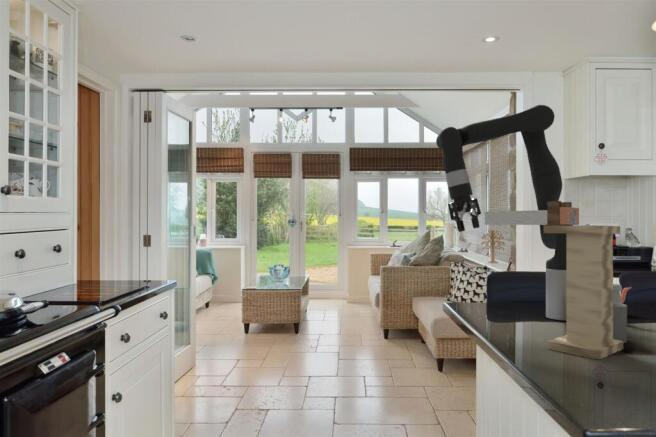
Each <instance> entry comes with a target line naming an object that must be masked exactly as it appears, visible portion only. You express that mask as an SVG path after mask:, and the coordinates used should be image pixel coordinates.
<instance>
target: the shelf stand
mask: <svg viewBox="0 0 656 437" xmlns="http://www.w3.org/2000/svg"><path fill="white" fill-rule="evenodd" d="M572 205H573V204H572V201H563V202H562V201H561V200H559V201H547V226H544V233H567V320H566V334H565V335H561V336H559V337H555V338H552V339H549V340H547V349H548V350H552V351H556V352H562V353H566V354H570V355H575V356H579V357H583V356H584V357H585V358H589V359H594V360H597V359H598V361H599V359H600V360H601V359H604V358H607V357H609V356H611V355H613V354H615V353H618V352H620V351H622V350H624V343H623V341H619V340H613V284H614V248H613V247H614V244H613V243H614V238H613V237H614V235H620V234H621V226H619V225H573V226H572V225H559V207H572V208H573V206H572ZM617 351H618V352H617ZM608 355H609V356H608Z"/></svg>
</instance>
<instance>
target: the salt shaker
mask: <svg viewBox="0 0 656 437" xmlns="http://www.w3.org/2000/svg"><path fill="white" fill-rule="evenodd" d="M622 291H623V287H622V285H621V284H619V283H613V302H615V303H621V304H623V303H622V300H621V292H622Z"/></svg>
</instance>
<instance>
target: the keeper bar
mask: <svg viewBox="0 0 656 437" xmlns="http://www.w3.org/2000/svg"><path fill="white" fill-rule="evenodd" d="M484 225H490V226H494V225H495V226H540V225H547V210H538V209H537V210H501V211H496V210H495V211H484ZM559 225H573V226H580V208H579V207H573V206H572V207H559Z"/></svg>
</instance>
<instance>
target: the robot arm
mask: <svg viewBox="0 0 656 437" xmlns="http://www.w3.org/2000/svg"><path fill="white" fill-rule="evenodd" d="M555 116H556V115H555V113H554V111H553V109H552V108H551V107H550V106H548V105H544V104H537V105H534V106H531V107H529V108H527V109H525V110H523V111H519V112H517V113H513V114H510V115H506V116H502V117H497V118H493V119H491V118H490V119H487V120H481V121H477V122H472V123H468V124H466V125H464V126H462V127H460V128H456V127H453V126H447V127H445V128H443V130H442V131H440V132H439V134H437V137H436V139H435V140H436V142H435V143H436V145H437V147H438V148H439V149H440V150H441V151H443V160H442V161H443V169H444V172H445V177H446V184H447V188H448V194H449V197H450V199H451V200H452V202H447V206H448V211H449V217H450V220H451V221H454V222H455V224H456V228H457V230H458V232H459V233H461V232H462V233H463V232H465V231H466V229H465V224H464V220H463V218H464V215H465V214H467V215H469V217H470V220H471V223H472V229H477V228H478V229H479V228H480V221H479V215H481V214H482V212H481V208H480V204H479V201H478V198H477V197H474V198H472V197H471V196H472V195H473V189H472V185H471V181H470V178H469V174H468V171H467V168H466V164H465V159H464V155H463V153H464V152H463V147H465V146H468V145H471V144H478V143H481V142H482V143H483V142H487V141H491V140H495V139H497V138H500V137H504V136H508V135H511V134H515V133H521V137H522V140H523V142H524V147H525V150H526V154H527V160H528V165H529V169H530V170H529V171H530V177H531V181H532V186H533V191H534V195H535V199H536V200H535V201H536V206H537V210H547V201H560V197H561V194H562V190H563V180H562V175H561V170H560V166H559V164H558V162H557V160H556V158H555V157H554V155H553V154H552V152H551V150H550V148H549V147H548V144H547V140H546V134H545V131H546V130H548V129H549V128H551V126H552V125H553V124H554V121H555ZM544 226H547V225H539V235H540V239H541V241H542V244H543V245H544V246H545V247H546V248H547V249H549V250H554V254H553V256H552V258H549V259H547V260H546V262H545V317H546V318H548V319H551V320H557V321H567V233H544ZM572 226H574V225H572Z"/></svg>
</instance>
